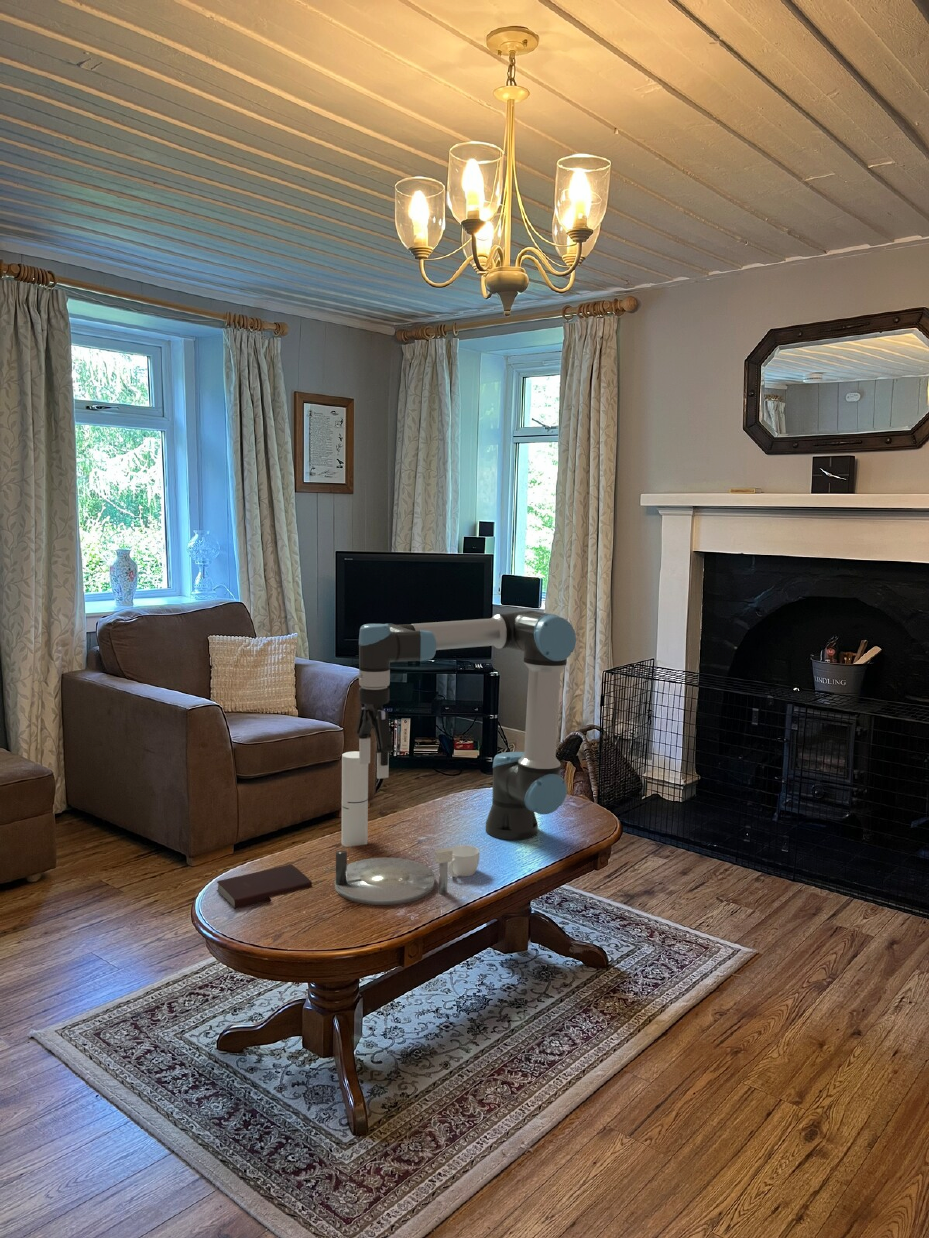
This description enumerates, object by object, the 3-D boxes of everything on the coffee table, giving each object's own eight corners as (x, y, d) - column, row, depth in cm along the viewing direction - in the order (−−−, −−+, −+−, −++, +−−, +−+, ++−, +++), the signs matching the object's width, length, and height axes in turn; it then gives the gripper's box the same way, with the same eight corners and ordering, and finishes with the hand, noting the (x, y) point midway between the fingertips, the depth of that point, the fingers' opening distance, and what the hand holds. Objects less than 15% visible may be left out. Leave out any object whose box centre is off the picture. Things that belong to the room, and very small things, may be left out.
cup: (484, 875, 226) (485, 849, 226) (461, 888, 218) (462, 861, 218) (460, 868, 231) (460, 842, 230) (436, 880, 223) (437, 853, 222)
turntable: (412, 859, 233) (412, 824, 232) (450, 895, 211) (450, 856, 210) (321, 873, 222) (321, 836, 221) (351, 912, 201) (352, 871, 200)
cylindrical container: (362, 848, 243) (363, 759, 240) (337, 846, 244) (338, 757, 241) (370, 839, 250) (371, 752, 247) (346, 837, 251) (347, 750, 248)
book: (312, 893, 215) (312, 880, 214) (234, 911, 204) (234, 897, 203) (291, 875, 225) (291, 863, 225) (215, 892, 214) (215, 879, 214)
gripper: (344, 678, 230) (344, 759, 233) (376, 697, 208) (375, 785, 210) (372, 677, 233) (371, 756, 236) (406, 695, 211) (405, 782, 213)
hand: (373, 770), depth 223 cm, fingers open, 13 cm apart
